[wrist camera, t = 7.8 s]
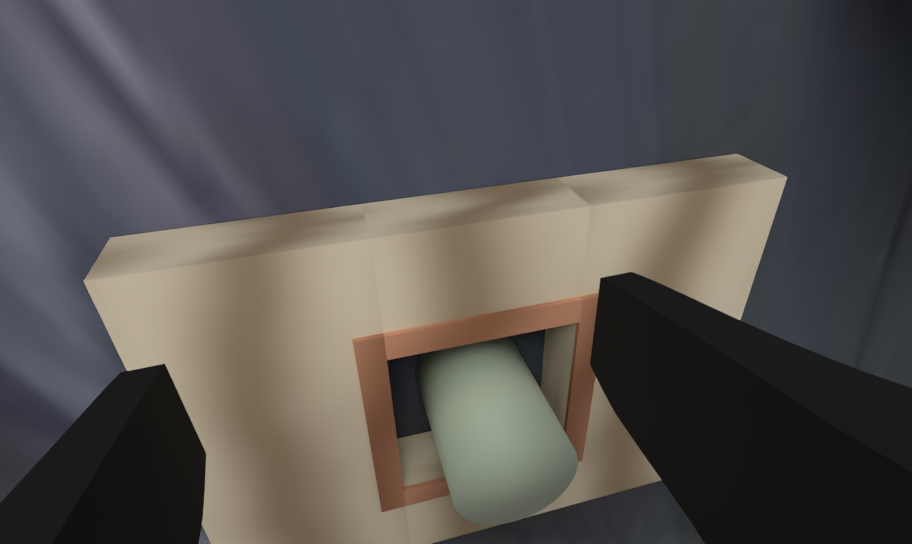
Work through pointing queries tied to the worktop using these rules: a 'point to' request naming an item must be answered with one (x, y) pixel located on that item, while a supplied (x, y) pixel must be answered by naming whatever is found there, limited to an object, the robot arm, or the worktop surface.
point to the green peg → (494, 432)
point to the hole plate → (410, 331)
